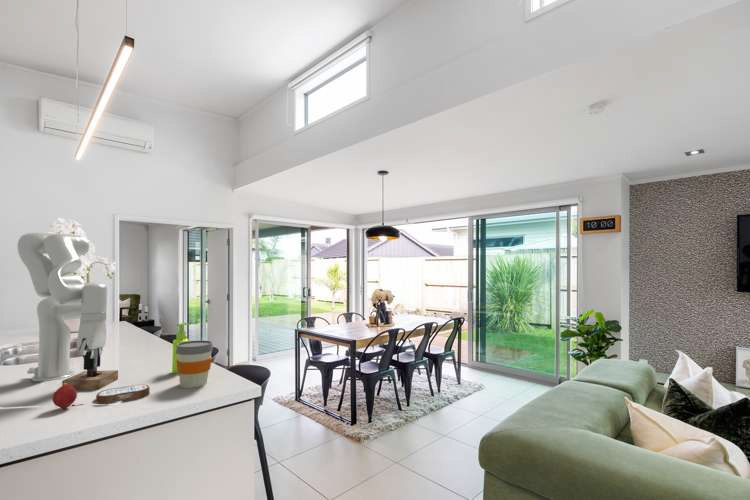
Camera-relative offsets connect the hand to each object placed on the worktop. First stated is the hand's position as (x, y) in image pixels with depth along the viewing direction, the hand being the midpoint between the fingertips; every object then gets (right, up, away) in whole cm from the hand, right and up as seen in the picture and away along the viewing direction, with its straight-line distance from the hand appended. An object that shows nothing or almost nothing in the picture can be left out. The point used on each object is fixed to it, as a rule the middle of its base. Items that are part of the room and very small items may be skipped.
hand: (91, 367), depth 138 cm
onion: (+8, -6, -22) cm, 24 cm away
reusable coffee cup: (+36, -7, +3) cm, 37 cm away
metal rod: (0, -5, 0) cm, 5 cm away
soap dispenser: (+23, -8, +20) cm, 31 cm away
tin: (+17, -5, -8) cm, 19 cm away
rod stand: (0, -7, 0) cm, 7 cm away
